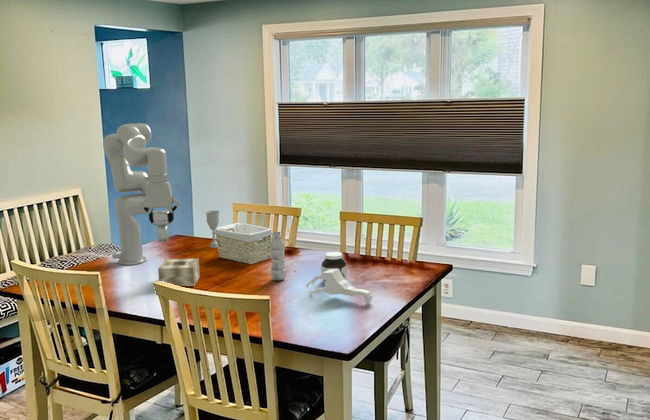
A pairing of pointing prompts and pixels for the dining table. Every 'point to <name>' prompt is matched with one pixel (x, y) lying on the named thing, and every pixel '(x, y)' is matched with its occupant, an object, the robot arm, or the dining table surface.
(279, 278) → the plastic bottle
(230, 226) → the storage basket
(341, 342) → the dining table surface
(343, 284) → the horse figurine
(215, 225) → the chalice
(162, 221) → the silver metal cylinder
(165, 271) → the block
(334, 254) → the spread jar
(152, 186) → the robot arm
